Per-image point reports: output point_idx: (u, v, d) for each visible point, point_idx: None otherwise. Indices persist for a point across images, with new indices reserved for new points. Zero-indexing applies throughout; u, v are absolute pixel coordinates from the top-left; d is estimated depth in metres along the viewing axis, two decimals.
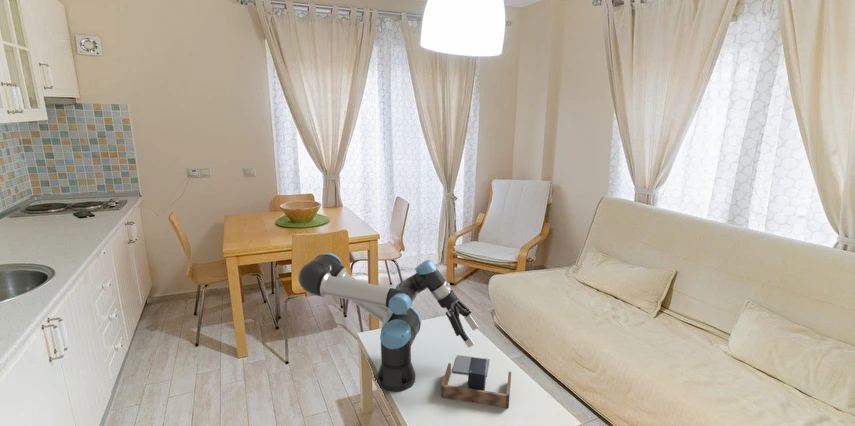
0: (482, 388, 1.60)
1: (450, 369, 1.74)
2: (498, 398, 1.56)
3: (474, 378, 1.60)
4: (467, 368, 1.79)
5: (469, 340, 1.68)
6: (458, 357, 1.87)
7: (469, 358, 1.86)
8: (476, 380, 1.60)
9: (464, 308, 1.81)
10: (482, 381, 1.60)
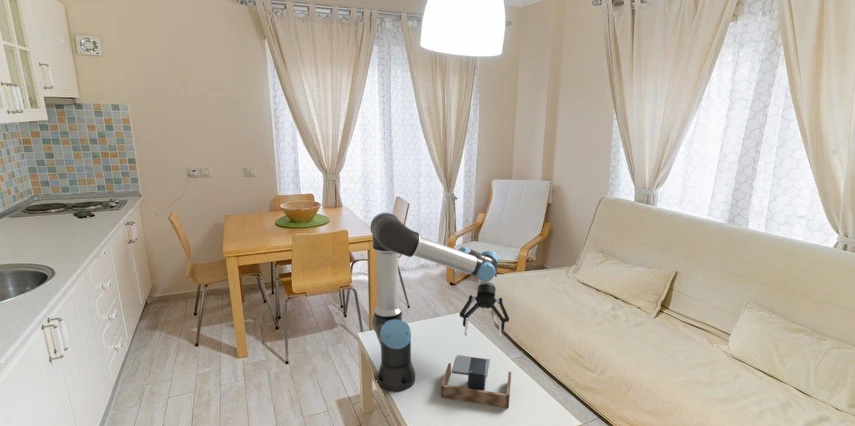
0: (482, 388, 1.60)
1: (450, 369, 1.74)
2: (498, 398, 1.56)
3: (474, 378, 1.60)
4: (467, 368, 1.79)
5: None
6: (458, 357, 1.87)
7: (469, 358, 1.86)
8: (476, 380, 1.60)
9: (465, 311, 1.80)
10: (482, 381, 1.60)
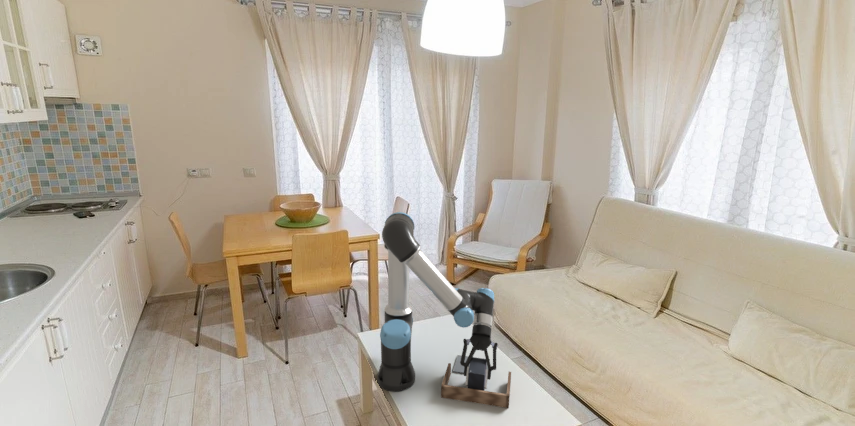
0: (482, 388, 1.60)
1: (450, 369, 1.74)
2: (498, 398, 1.56)
3: (474, 378, 1.60)
4: None
5: None
6: (458, 357, 1.87)
7: None
8: (476, 380, 1.60)
9: None
10: (482, 381, 1.60)
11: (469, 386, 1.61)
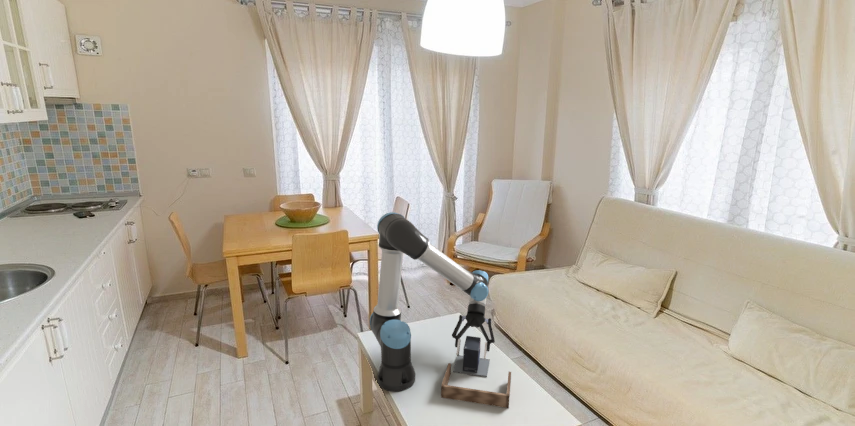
0: (476, 363, 1.75)
1: (450, 369, 1.74)
2: (498, 398, 1.56)
3: (469, 353, 1.74)
4: None
5: None
6: (458, 357, 1.87)
7: None
8: (471, 356, 1.75)
9: (457, 331, 1.84)
10: (476, 356, 1.74)
11: (464, 361, 1.76)
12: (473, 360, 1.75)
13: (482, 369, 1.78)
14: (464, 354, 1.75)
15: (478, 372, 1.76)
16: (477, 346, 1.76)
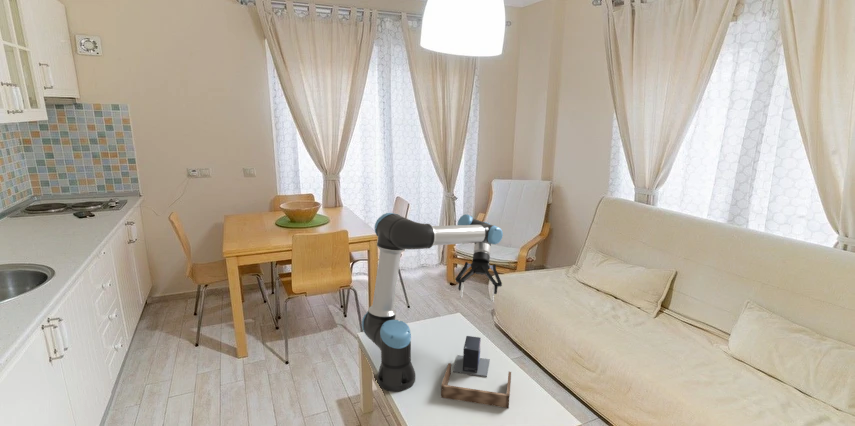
0: (476, 363, 1.75)
1: (450, 369, 1.74)
2: (498, 398, 1.56)
3: (469, 353, 1.74)
4: None
5: None
6: (458, 357, 1.87)
7: None
8: (471, 356, 1.75)
9: None
10: (476, 356, 1.74)
11: (464, 361, 1.76)
12: (473, 360, 1.75)
13: (482, 369, 1.78)
14: (464, 354, 1.75)
15: (478, 372, 1.76)
16: (477, 346, 1.76)
